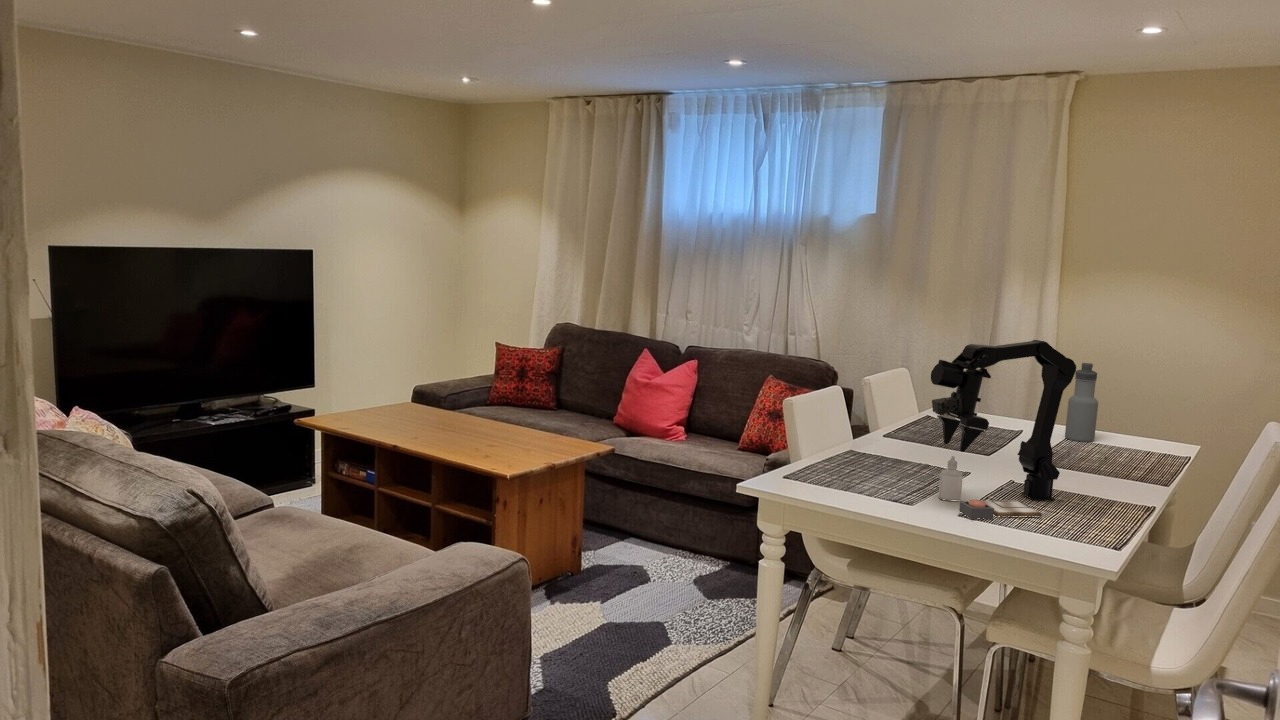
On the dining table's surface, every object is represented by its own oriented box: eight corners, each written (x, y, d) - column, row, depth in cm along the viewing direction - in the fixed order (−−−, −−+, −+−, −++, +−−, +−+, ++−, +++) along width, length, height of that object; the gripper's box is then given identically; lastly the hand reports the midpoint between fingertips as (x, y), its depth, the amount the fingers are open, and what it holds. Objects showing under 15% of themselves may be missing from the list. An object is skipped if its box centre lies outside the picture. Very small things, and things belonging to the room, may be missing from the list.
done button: (979, 506, 236) (980, 499, 235) (987, 511, 232) (988, 504, 231) (965, 507, 235) (965, 499, 235) (972, 511, 231) (973, 504, 231)
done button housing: (980, 512, 237) (982, 501, 236) (992, 519, 231) (994, 508, 231) (959, 512, 236) (960, 501, 236) (970, 519, 230) (971, 508, 230)
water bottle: (1064, 435, 341) (1072, 360, 337) (1094, 438, 337) (1102, 363, 333) (1064, 440, 332) (1072, 363, 328) (1094, 443, 328) (1102, 366, 324)
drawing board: (1017, 505, 245) (1018, 499, 245) (1041, 517, 234) (1041, 512, 234) (975, 505, 244) (976, 499, 243) (997, 517, 233) (997, 512, 233)
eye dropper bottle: (956, 503, 244) (960, 459, 243) (936, 499, 248) (939, 455, 246) (962, 500, 248) (966, 456, 246) (941, 496, 251) (945, 453, 250)
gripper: (924, 380, 252) (911, 435, 254) (956, 391, 234) (942, 450, 236) (961, 387, 254) (947, 442, 256) (996, 399, 236) (981, 457, 237)
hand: (953, 447), depth 246 cm, fingers open, 9 cm apart
